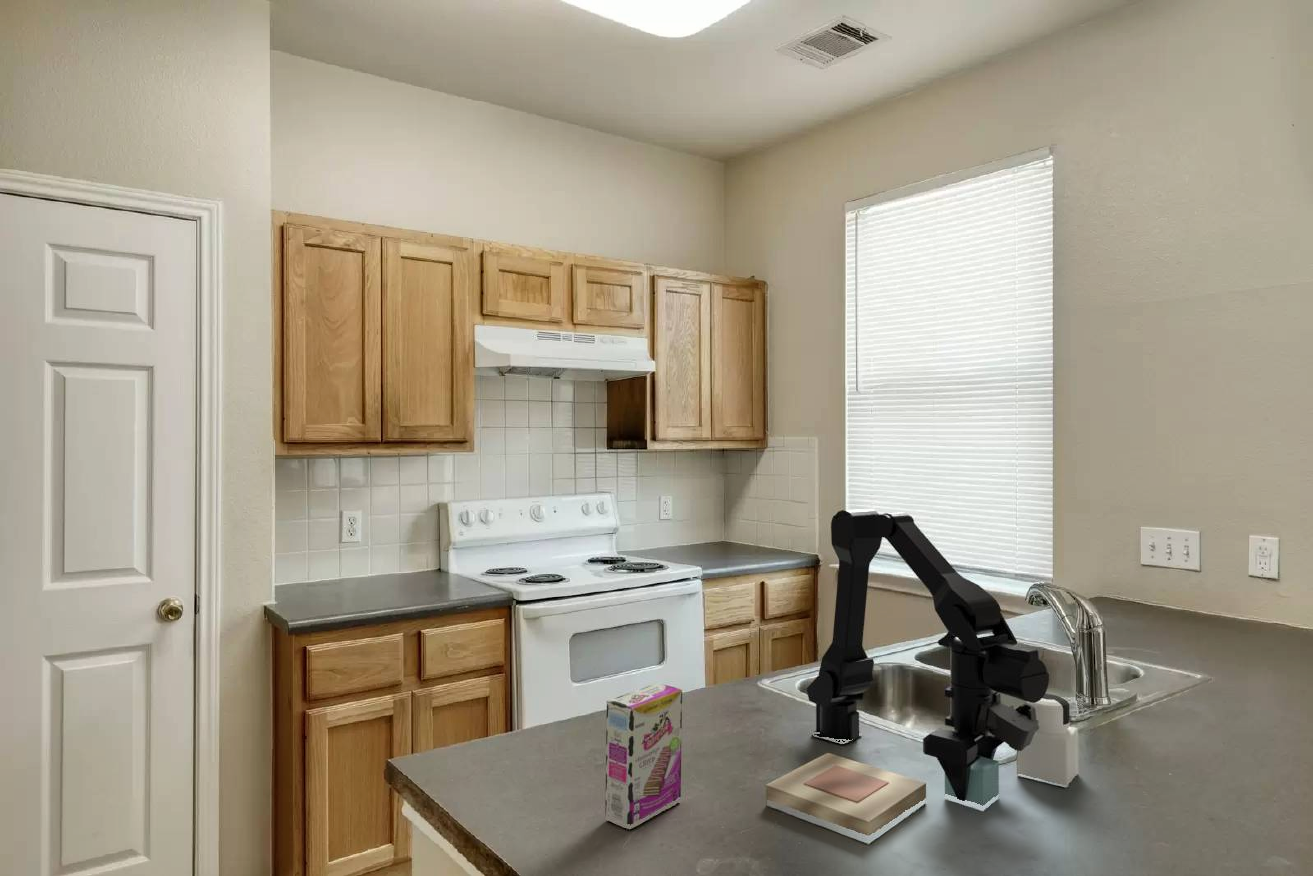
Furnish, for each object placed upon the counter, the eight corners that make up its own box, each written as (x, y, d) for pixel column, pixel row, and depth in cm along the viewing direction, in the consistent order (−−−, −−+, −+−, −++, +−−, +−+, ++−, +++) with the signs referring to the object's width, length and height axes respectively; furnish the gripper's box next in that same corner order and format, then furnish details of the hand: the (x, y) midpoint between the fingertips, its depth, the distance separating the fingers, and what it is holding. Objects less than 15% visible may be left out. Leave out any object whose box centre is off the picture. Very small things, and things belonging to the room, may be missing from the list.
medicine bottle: (1029, 762, 130) (1029, 687, 130) (1078, 774, 126) (1078, 696, 126) (1016, 777, 125) (1015, 698, 125) (1067, 789, 120) (1067, 708, 120)
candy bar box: (632, 833, 107) (631, 708, 107) (604, 822, 111) (603, 700, 111) (684, 803, 116) (683, 687, 116) (656, 794, 119) (656, 681, 119)
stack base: (765, 806, 115) (765, 783, 115) (827, 772, 127) (827, 751, 127) (868, 845, 104) (868, 820, 104) (926, 804, 116) (926, 781, 116)
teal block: (944, 800, 117) (944, 761, 117) (961, 788, 121) (961, 751, 121) (983, 812, 113) (983, 772, 113) (998, 799, 117) (998, 761, 117)
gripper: (1003, 712, 105) (1003, 834, 105) (1053, 680, 118) (1053, 788, 118) (921, 693, 113) (921, 806, 113) (977, 665, 126) (977, 766, 126)
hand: (971, 792), depth 117 cm, fingers open, 7 cm apart
